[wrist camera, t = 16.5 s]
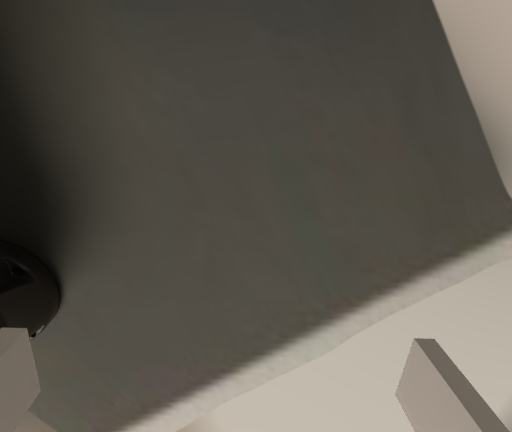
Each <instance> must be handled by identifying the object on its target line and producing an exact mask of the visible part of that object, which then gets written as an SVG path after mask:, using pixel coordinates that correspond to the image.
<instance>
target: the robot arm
mask: <svg viewBox="0 0 512 432" xmlns="http://www.w3.org/2000/svg"><path fill="white" fill-rule="evenodd" d="M58 307H59V291H58V287H57V284H56V282H55V279H54V278H53V276H52V274H51V273H50V271H49V270H48V269H47V268H46V266H45V265H44V264H43V263H42V262H41V261H40V260H38V259H37V258H36V257H35V256H33V255H32V254H30V253H29V252H27V251H26V250H24V249H22V248H20V247H18V246H15V245H13V244H10V243H7V242H3V241H0V432H14V430H15V429H16V427H17V426H18V424H19V423H20V421H21V420H22V418H23V417H24V415H25V414H26V412H27V411H28V409H29V408H30V406H31V405H32V403H33V402H34V400H35V399H36V397H37V396H38V394H39V393H40V391H41V390H40V385H39V381H38V376H37V371H36V367H35V362H34V358H33V353H32V349H31V344H30V340H32V339H33V338H35V337H36V336H37V335H39V334H40V333H41V332H42V331H43V330H44V329H45V328H46V326H47V325H48V324H49V323H50V321H51V320H52V319H53V318H54V316H55V314H56V312H57V310H58ZM395 395H396V397H397V399H398V400H399V402H400V404H401V406H402V408H403V410H404V412H405V413H406V416H407V417H408V419H409V421H410V423H411V425H412V427H413V428H414V431H415V432H509V430H507V428H506V427H505V426H504V424H503V423H502V422H501V421H500V419H499V418H498V417H497V416H496V415H495V413H494V412H493V411H492V410H491V408H490V407H489V406H488V405H487V403H486V402H485V401H484V400H483V398H482V397H481V396H480V395H479V394H478V392H477V391H476V390H475V389H474V387H473V386H472V385H471V384H470V383H469V381H468V380H467V379H466V377H465V376H464V375H463V374H462V373H461V371H460V370H459V369H458V368H457V366H456V365H455V364H454V363H453V362H452V360H451V359H450V358H449V357H448V355H447V354H446V353H445V352H444V351H443V349H442V348H441V347H440V346H439V344H438V343H437V342H436V341H435V339H414V340H413V343H412V346H411V349H410V352H409V355H408V358H407V361H406V364H405V367H404V370H403V373H402V376H401V379H400V382H399V385H398V388H397V391H396V394H395Z"/></svg>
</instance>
